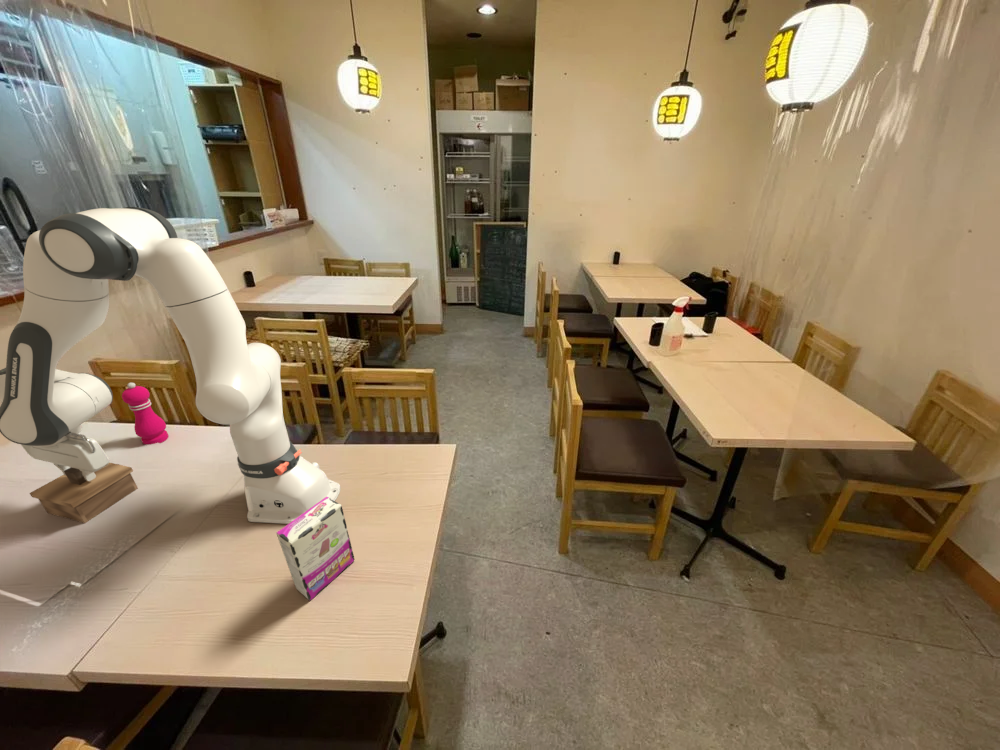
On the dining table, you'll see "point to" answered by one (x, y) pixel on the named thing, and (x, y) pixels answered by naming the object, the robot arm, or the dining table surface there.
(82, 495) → the lid
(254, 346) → the robot arm
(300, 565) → the candy bar box
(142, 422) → the pepper mill
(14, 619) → the dining table surface
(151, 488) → the dining table surface
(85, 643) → the dining table surface
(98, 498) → the walnut box
